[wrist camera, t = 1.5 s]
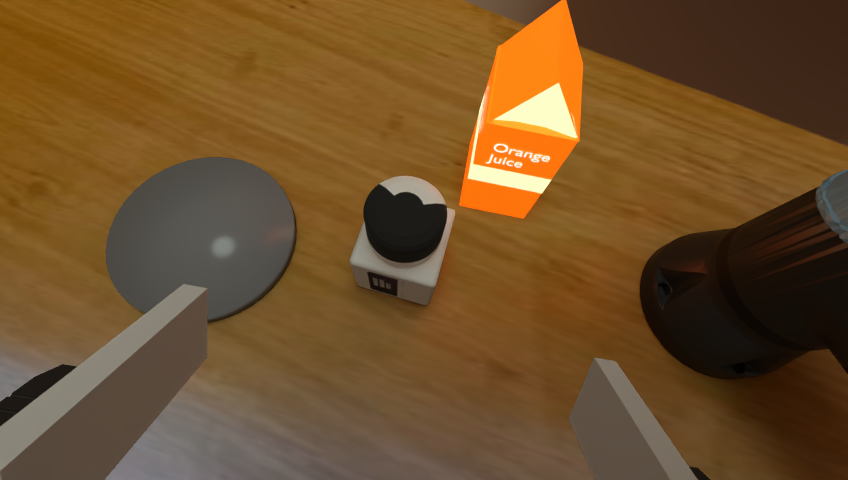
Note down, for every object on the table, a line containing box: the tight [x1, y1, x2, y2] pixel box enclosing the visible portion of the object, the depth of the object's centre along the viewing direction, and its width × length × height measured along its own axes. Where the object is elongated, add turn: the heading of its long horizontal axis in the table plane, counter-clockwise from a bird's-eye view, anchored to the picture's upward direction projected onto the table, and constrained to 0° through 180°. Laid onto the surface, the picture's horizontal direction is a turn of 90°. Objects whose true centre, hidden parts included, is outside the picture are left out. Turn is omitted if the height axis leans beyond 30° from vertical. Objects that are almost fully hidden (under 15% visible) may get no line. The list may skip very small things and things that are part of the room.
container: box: [350, 176, 455, 305], centre depth 36 cm, size 8×8×13 cm
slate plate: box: [106, 157, 297, 323], centre depth 41 cm, size 18×18×2 cm
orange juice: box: [459, 0, 583, 218], centre depth 38 cm, size 8×9×20 cm
